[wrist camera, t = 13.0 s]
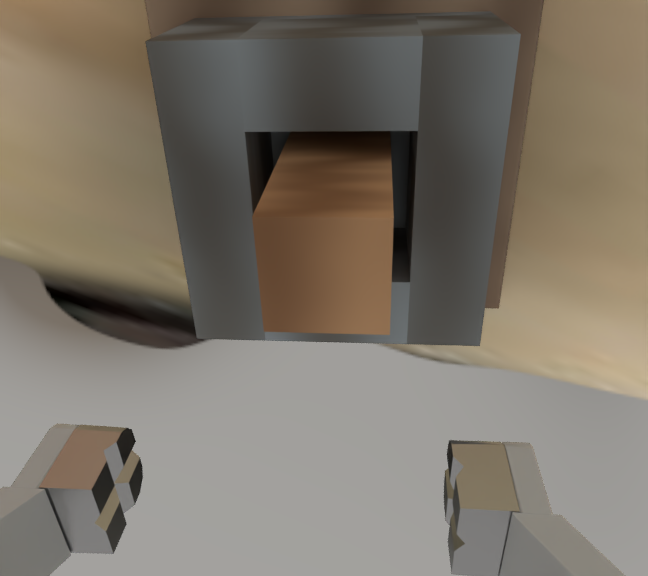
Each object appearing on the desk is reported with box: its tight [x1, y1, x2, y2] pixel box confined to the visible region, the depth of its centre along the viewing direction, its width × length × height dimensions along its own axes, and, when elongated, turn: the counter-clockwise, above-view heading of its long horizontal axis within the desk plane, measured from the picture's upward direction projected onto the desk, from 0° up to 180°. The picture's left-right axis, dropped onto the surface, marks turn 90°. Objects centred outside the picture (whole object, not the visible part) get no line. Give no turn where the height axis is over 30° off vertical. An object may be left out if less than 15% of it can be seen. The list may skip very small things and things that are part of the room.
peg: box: [252, 131, 394, 335], centre depth 22 cm, size 4×4×10 cm
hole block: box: [145, 0, 544, 346], centre depth 25 cm, size 16×16×7 cm
